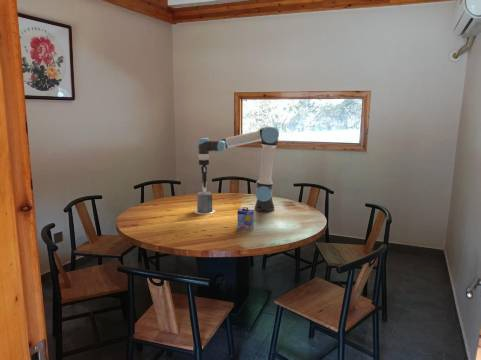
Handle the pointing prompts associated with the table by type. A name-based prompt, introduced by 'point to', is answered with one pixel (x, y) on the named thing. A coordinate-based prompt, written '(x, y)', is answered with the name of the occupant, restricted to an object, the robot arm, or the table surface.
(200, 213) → the trivet
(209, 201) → the grey piece
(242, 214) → the ink cartridge box
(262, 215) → the table surface
